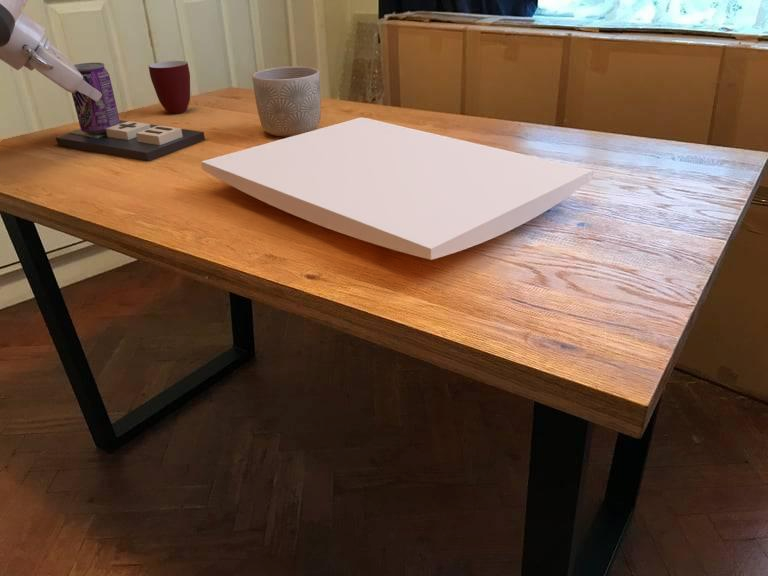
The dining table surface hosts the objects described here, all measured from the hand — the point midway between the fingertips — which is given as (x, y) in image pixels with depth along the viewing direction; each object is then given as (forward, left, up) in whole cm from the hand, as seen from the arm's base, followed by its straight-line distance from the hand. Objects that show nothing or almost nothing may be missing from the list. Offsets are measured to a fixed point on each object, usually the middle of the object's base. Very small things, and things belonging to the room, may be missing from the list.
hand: (96, 93), depth 122 cm
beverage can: (0, -1, -7) cm, 7 cm away
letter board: (+6, 0, -9) cm, 11 cm away
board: (+65, -5, -9) cm, 65 cm away
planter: (+30, +18, -9) cm, 37 cm away
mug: (-4, +22, -9) cm, 24 cm away
